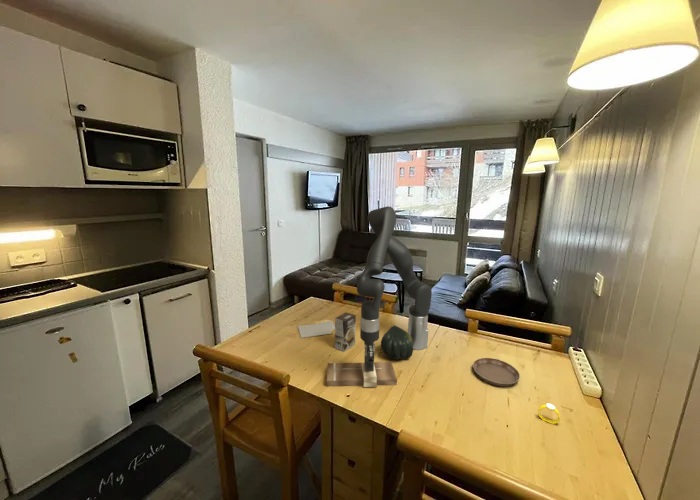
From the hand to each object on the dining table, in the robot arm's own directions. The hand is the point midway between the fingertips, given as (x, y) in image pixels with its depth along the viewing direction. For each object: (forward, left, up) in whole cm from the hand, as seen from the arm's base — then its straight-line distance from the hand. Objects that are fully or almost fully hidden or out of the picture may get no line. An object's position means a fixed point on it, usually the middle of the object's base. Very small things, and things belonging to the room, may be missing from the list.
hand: (369, 365), depth 118 cm
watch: (-59, +24, -6) cm, 64 cm away
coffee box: (+9, -26, -6) cm, 28 cm away
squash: (-15, -17, -6) cm, 23 cm away
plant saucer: (-54, -1, -7) cm, 54 cm away
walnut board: (+3, -2, -6) cm, 7 cm away
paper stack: (+23, -49, -7) cm, 55 cm away
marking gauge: (0, +1, -6) cm, 6 cm away
